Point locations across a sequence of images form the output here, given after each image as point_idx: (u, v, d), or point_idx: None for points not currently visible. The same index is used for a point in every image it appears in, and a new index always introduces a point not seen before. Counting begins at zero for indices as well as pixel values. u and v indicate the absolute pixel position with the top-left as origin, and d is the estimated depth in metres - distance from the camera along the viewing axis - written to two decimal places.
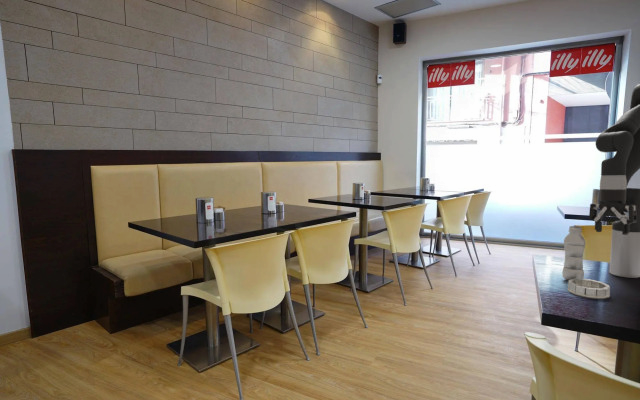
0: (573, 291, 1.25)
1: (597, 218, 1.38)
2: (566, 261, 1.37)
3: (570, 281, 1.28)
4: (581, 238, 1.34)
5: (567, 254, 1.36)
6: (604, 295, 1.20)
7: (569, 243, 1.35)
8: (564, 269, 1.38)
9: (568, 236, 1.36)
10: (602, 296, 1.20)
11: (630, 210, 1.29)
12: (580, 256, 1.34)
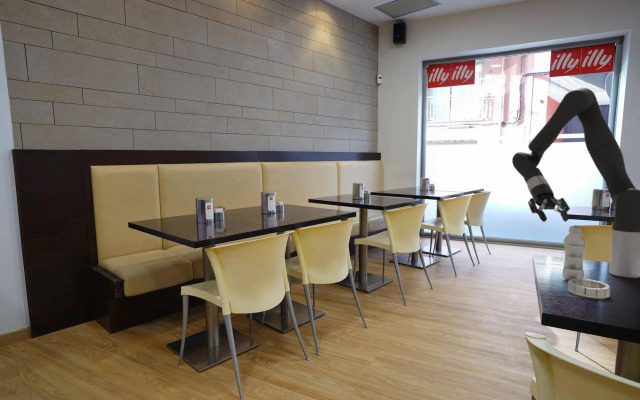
0: (573, 291, 1.25)
1: None
2: (566, 261, 1.37)
3: (570, 281, 1.28)
4: (581, 238, 1.34)
5: (567, 254, 1.36)
6: (604, 295, 1.20)
7: (569, 243, 1.35)
8: (564, 269, 1.38)
9: (568, 236, 1.36)
10: (602, 296, 1.20)
11: None
12: (580, 256, 1.34)
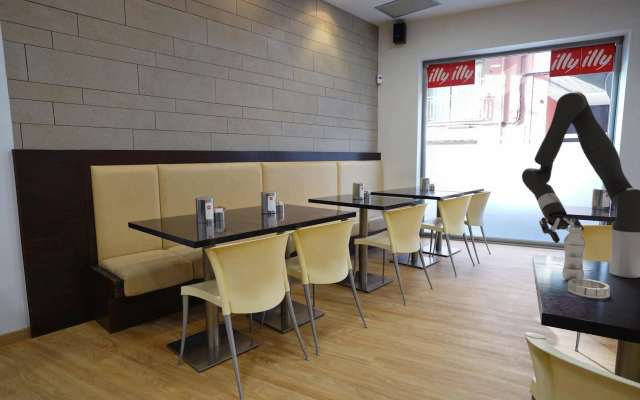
0: (573, 291, 1.25)
1: None
2: (566, 261, 1.37)
3: (570, 281, 1.28)
4: (581, 238, 1.34)
5: (567, 254, 1.36)
6: (604, 295, 1.20)
7: (569, 243, 1.35)
8: (564, 269, 1.38)
9: (568, 236, 1.36)
10: (602, 296, 1.20)
11: None
12: (580, 256, 1.34)
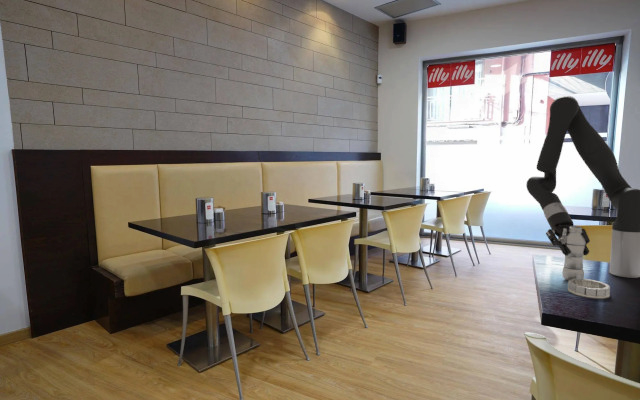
0: (573, 291, 1.25)
1: None
2: (566, 261, 1.37)
3: (570, 281, 1.28)
4: (581, 238, 1.34)
5: None
6: (604, 295, 1.20)
7: (569, 243, 1.35)
8: (564, 269, 1.38)
9: (568, 236, 1.36)
10: (602, 296, 1.20)
11: None
12: (580, 256, 1.34)
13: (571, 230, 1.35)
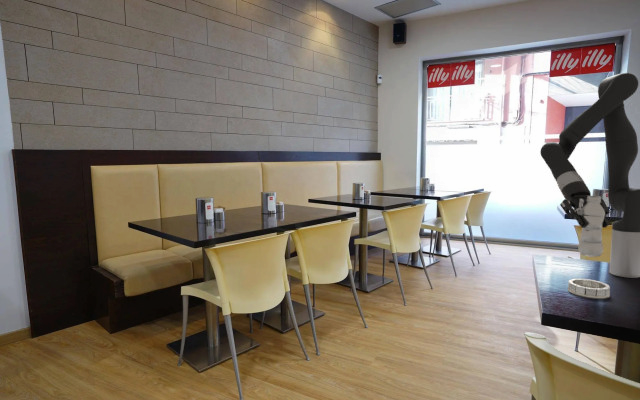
0: (573, 291, 1.25)
1: None
2: (583, 234, 1.23)
3: (570, 281, 1.28)
4: (600, 208, 1.20)
5: None
6: (604, 295, 1.20)
7: (586, 213, 1.22)
8: (581, 243, 1.24)
9: (586, 206, 1.23)
10: (602, 296, 1.20)
11: None
12: (599, 228, 1.21)
13: (589, 199, 1.22)
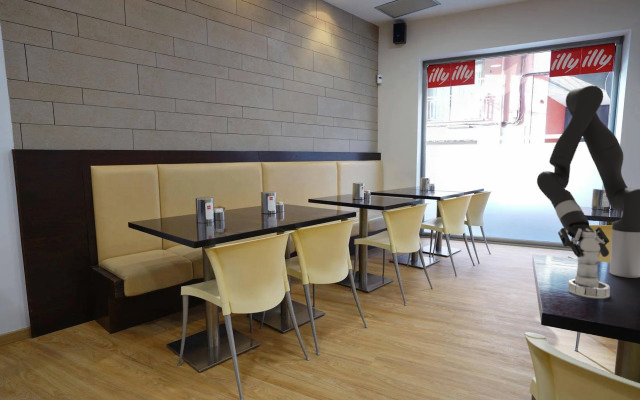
0: (573, 291, 1.25)
1: None
2: (579, 269, 1.25)
3: (570, 281, 1.28)
4: (596, 244, 1.22)
5: (580, 261, 1.24)
6: (604, 295, 1.20)
7: (582, 249, 1.23)
8: (577, 278, 1.25)
9: (581, 242, 1.24)
10: (602, 296, 1.20)
11: None
12: (595, 263, 1.22)
13: (585, 235, 1.23)
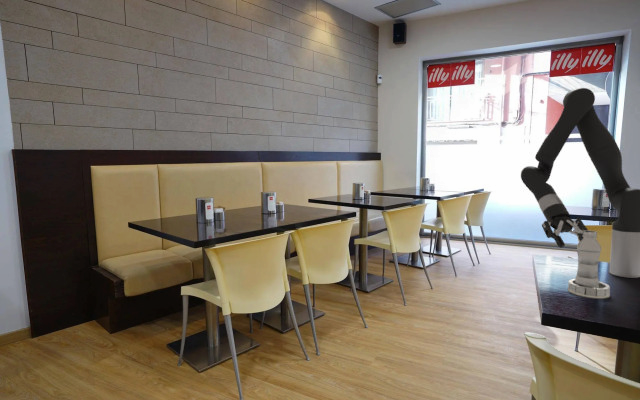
0: (573, 291, 1.25)
1: None
2: (580, 269, 1.25)
3: (570, 281, 1.28)
4: (597, 244, 1.22)
5: (581, 261, 1.24)
6: (604, 295, 1.20)
7: (583, 249, 1.23)
8: (577, 278, 1.25)
9: (582, 241, 1.24)
10: (602, 296, 1.20)
11: None
12: (595, 264, 1.22)
13: (585, 235, 1.23)
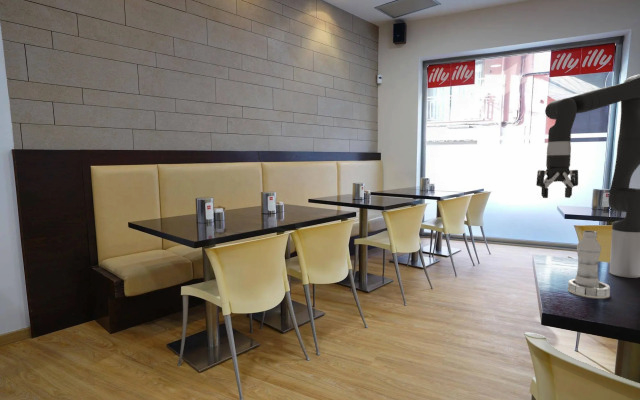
0: (573, 291, 1.25)
1: None
2: (580, 269, 1.25)
3: (570, 281, 1.28)
4: (597, 244, 1.22)
5: (581, 261, 1.24)
6: (604, 295, 1.20)
7: (583, 249, 1.23)
8: (577, 278, 1.25)
9: (582, 242, 1.24)
10: (602, 296, 1.20)
11: None
12: (595, 264, 1.22)
13: (585, 235, 1.23)
